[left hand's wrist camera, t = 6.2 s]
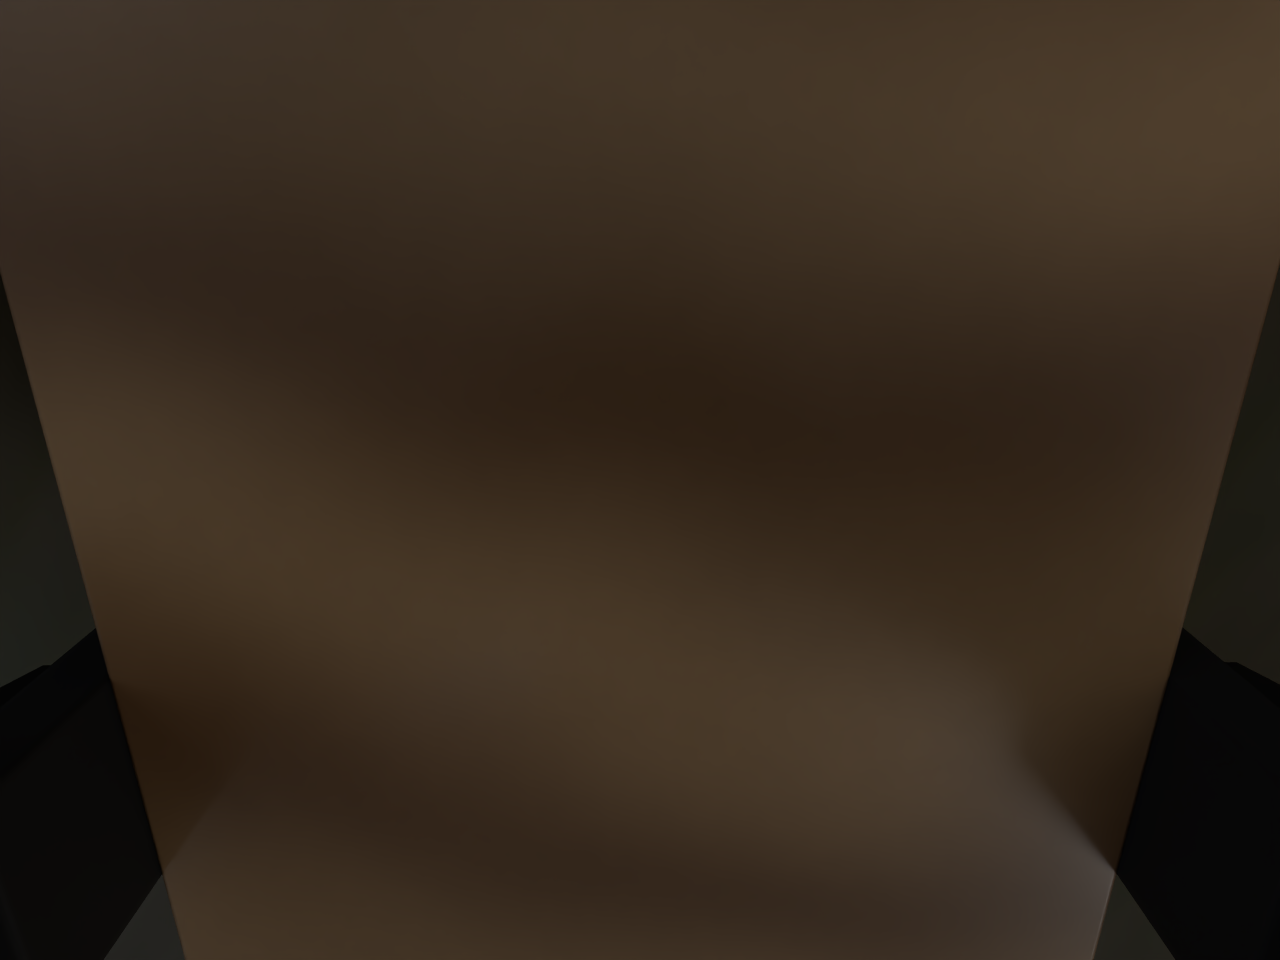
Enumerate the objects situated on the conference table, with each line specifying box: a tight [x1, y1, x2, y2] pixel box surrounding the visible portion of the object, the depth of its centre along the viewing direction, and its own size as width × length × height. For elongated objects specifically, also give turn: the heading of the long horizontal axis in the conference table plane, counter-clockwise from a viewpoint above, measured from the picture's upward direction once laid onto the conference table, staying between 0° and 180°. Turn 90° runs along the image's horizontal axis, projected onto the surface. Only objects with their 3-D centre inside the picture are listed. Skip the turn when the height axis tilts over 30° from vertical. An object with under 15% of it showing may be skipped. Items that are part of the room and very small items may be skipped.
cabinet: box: [0, 0, 1280, 960], centre depth 11 cm, size 18×11×9 cm, turn 0°
